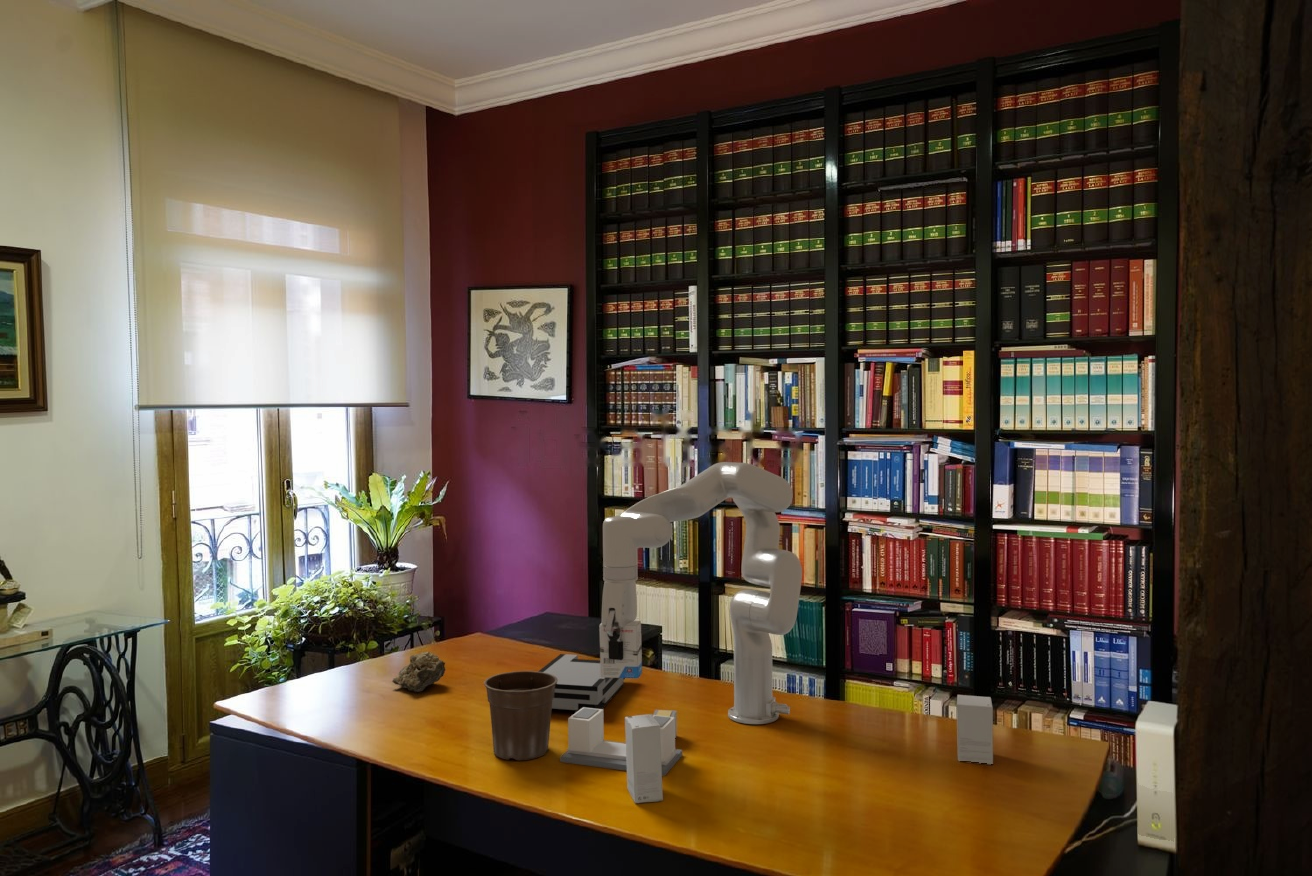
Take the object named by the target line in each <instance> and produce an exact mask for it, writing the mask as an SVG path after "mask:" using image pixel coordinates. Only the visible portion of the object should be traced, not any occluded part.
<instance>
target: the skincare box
mask: <svg viewBox="0 0 1312 876" xmlns="http://www.w3.org/2000/svg"><path fill="white" fill-rule="evenodd" d="M652 715H653V714H652V713H649V714H647V713H646V714H639V715H638V714H637V715H630V716H629V715H628V716H625V717H624V729H625V731H624V732H625V735H624V736H625V743H626V763H627V771H626V783H627V786H626V788H627V790H628V793H629V795H630V796H631V798H632V800H633V802H634V803H635V804H641V803H652V802H656V803H657V802H663V800H664V793H663V776H662V765H661V743H660V725H659V723H658V722H657V721H656V719H655V718H654V717H653V716H652Z"/></svg>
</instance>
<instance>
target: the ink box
mask: <svg viewBox="0 0 1312 876" xmlns="http://www.w3.org/2000/svg"><path fill="white" fill-rule="evenodd" d="M618 625H619V624H614V626H617V627H619V626H618ZM605 628H606V627H603V626H602V622H601V623H600V624H599V629H598V630H599V660H600V671H601V677H609V678H625V679H639V678H640V677H641V675H642V673H643V656H642V655H643V653H642V652H643V651H642V622H641V620H634V621H632V622H630V623H628V624H626V626H625V627H623V630H622V639H621V641H623V659H622V660H614V659H609V641H608V635H607V632H606V631H605ZM614 631H616V632H617V634H618V630H615V629H614Z"/></svg>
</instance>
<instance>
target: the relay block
mask: <svg viewBox="0 0 1312 876" xmlns="http://www.w3.org/2000/svg"><path fill="white" fill-rule="evenodd" d="M653 715H658V716H668V717H675V738H677V736H678V735H677V734H678V733H677V730H678V725H677V723H678V721H677V716H678V715H677V710H673V709H671V710H670V709H654V712H653V714H652V716H653Z"/></svg>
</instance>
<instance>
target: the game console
mask: <svg viewBox="0 0 1312 876" xmlns="http://www.w3.org/2000/svg"><path fill="white" fill-rule="evenodd" d="M537 672H544V673H549V674H552V675H554V676H556V677H557V679H558V681H557V684H556V685H555V692H554V698H553V700H552V709H554V710H568V711H574V714H575V713H576V712H577V711H579V710H580V709H581V708H583V707H586V708H595V709H603V710H604V708H605V707H606V706H607V704H609V702H610V701H611V700H612V699H613V698H614V697H615V696H616V695H617V694H618V693H619V692H620V690H621V689H622V688H623V687H622V686H624V682H625V680H626V678H609V677H601V671H600V659H584V658H578V654H570V653H569V654H568V653H567V654H565V653H560V654H559V655H557V656H556V657H555V658H554V659H552V660H551V661H550V662H549V663H547V664H546V665H544V666H543V667H542V668H541V669H539V670H538V671H537ZM614 695H615V696H614ZM611 698H612V699H611ZM610 699H611V700H610ZM605 705H606V706H605ZM604 706H605V707H604ZM603 707H604V708H603Z"/></svg>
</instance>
